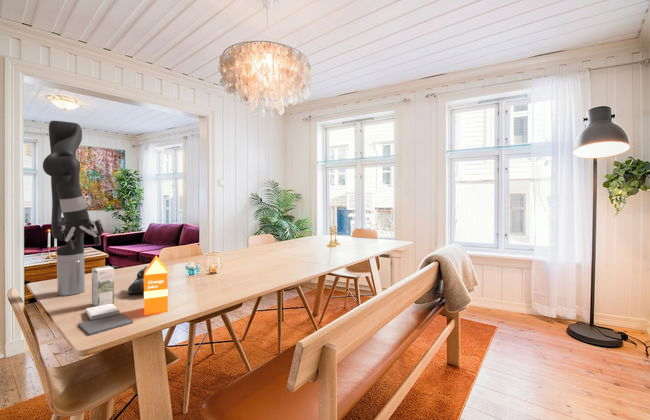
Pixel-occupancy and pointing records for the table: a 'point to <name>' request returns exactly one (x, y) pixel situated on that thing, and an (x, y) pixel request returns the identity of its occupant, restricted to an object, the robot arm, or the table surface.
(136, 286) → the lucky cat figurine
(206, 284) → the table surface
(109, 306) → the external hard drive
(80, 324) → the charcoal mat
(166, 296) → the orange juice
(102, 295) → the syrup box
